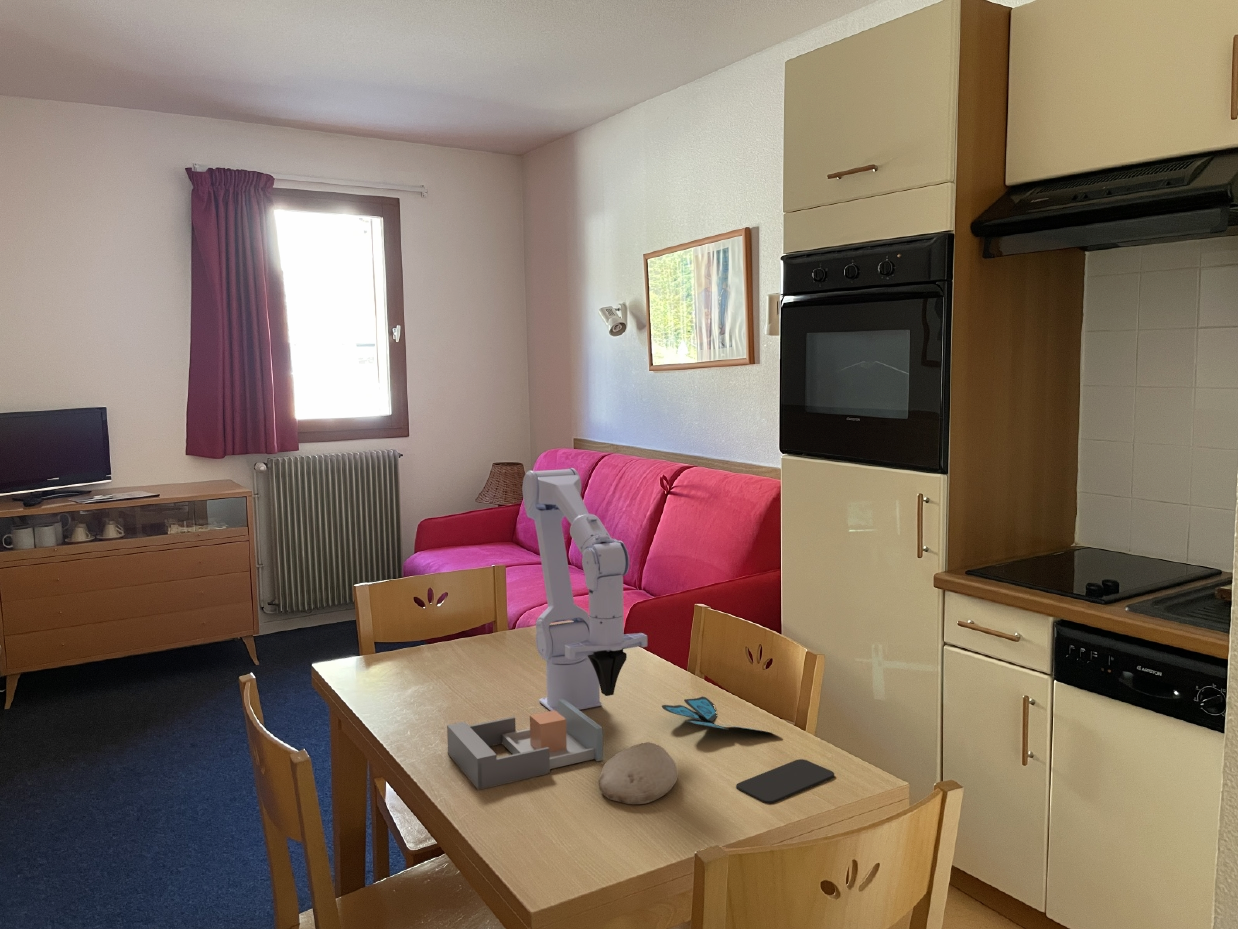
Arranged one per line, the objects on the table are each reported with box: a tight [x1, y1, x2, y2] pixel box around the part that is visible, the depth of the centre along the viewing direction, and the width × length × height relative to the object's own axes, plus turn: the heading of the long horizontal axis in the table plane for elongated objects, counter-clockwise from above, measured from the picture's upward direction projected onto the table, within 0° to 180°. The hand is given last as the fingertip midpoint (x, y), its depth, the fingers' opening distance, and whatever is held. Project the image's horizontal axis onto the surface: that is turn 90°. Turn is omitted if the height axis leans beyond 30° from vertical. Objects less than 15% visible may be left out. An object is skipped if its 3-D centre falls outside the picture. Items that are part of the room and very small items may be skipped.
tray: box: [501, 699, 604, 770], centre depth 150 cm, size 12×15×5 cm
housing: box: [446, 716, 551, 791], centre depth 146 cm, size 12×15×5 cm
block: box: [529, 710, 567, 753], centre depth 150 cm, size 4×4×5 cm
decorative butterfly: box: [661, 696, 773, 733], centre depth 159 cm, size 20×14×3 cm
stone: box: [598, 741, 678, 805], centre depth 137 cm, size 13×10×8 cm
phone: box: [735, 758, 835, 805], centre depth 138 cm, size 7×1×15 cm
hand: (607, 693), depth 154 cm, fingers closed
